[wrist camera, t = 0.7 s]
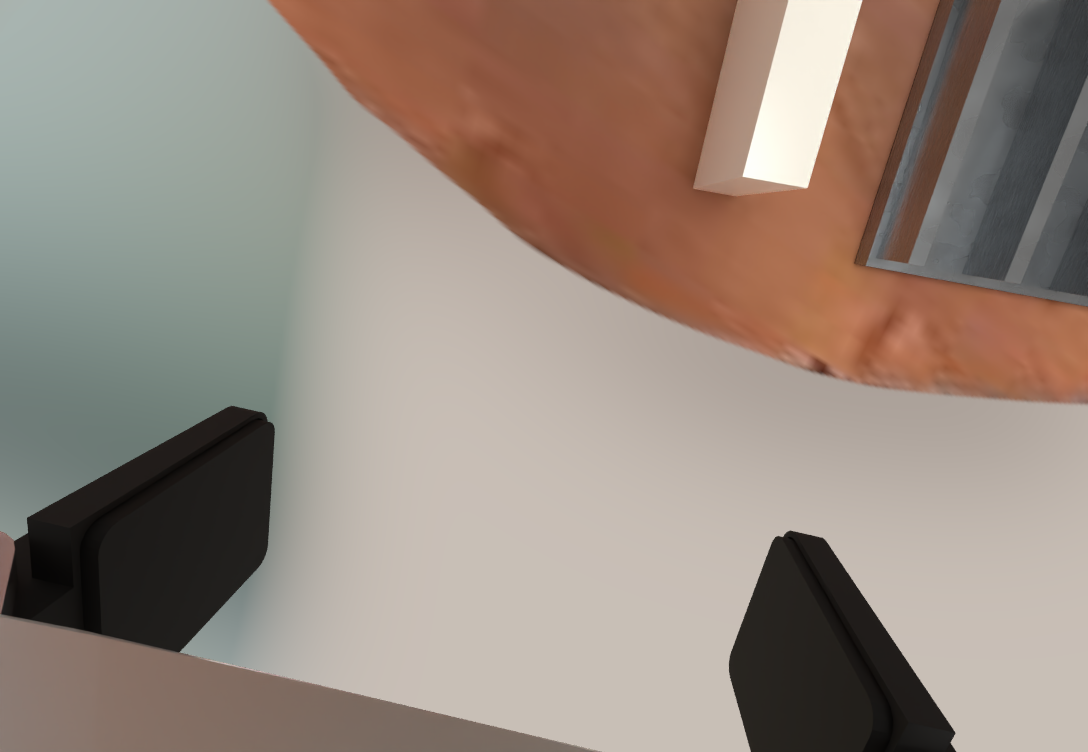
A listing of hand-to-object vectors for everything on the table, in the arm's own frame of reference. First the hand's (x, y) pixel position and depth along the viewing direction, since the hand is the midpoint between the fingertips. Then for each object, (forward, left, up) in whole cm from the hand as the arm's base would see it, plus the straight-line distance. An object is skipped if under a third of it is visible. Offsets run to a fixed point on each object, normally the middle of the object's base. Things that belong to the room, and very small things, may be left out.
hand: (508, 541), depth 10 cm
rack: (-13, +24, -27) cm, 38 cm away
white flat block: (-13, +7, -27) cm, 31 cm away
